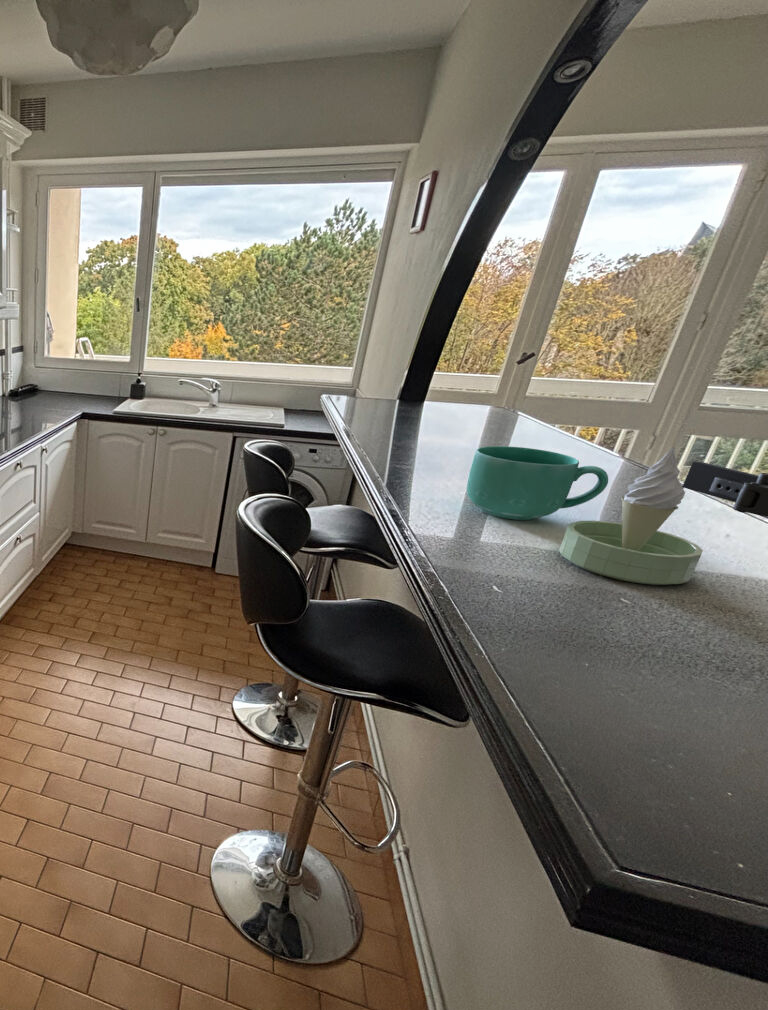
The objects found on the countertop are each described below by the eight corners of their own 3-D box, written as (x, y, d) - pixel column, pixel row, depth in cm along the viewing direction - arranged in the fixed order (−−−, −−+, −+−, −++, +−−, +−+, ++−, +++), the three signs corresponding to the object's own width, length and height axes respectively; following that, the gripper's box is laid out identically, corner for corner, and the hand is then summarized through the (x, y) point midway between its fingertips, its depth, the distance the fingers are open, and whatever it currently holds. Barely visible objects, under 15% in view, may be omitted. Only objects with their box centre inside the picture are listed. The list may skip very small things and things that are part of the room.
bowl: (670, 560, 76) (683, 531, 75) (704, 597, 67) (719, 565, 65) (551, 541, 82) (561, 514, 81) (567, 573, 73) (578, 543, 71)
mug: (456, 515, 92) (473, 456, 89) (463, 496, 102) (479, 442, 98) (595, 539, 83) (619, 474, 80) (589, 516, 92) (611, 457, 89)
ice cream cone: (639, 574, 71) (690, 453, 65) (589, 559, 75) (633, 443, 70) (661, 567, 73) (712, 448, 67) (611, 553, 77) (656, 440, 72)
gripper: (889, 604, 42) (621, 508, 61) (1244, 609, 42) (861, 511, 61) (951, 503, 39) (649, 437, 59) (1331, 508, 39) (901, 440, 58)
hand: (757, 475), depth 60 cm, fingers open, 13 cm apart
